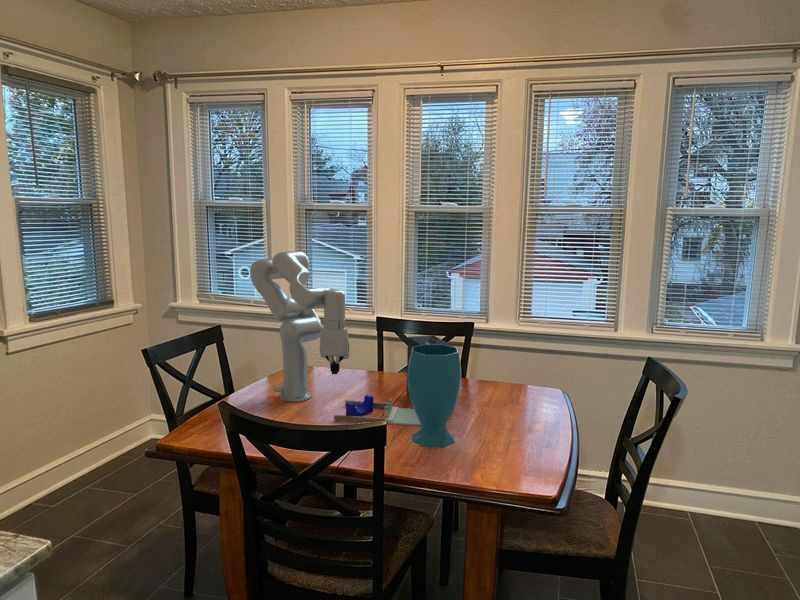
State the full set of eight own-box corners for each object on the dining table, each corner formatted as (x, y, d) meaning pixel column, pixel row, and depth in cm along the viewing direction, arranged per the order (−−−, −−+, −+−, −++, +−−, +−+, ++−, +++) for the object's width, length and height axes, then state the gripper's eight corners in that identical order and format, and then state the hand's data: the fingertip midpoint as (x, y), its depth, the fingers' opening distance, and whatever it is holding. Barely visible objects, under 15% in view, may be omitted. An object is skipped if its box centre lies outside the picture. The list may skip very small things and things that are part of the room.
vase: (407, 428, 190) (408, 343, 185) (457, 429, 189) (460, 344, 185) (406, 449, 173) (407, 355, 168) (461, 450, 172) (464, 356, 168)
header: (334, 421, 195) (334, 408, 195) (346, 405, 212) (346, 393, 211) (426, 427, 191) (426, 414, 190) (430, 410, 207) (431, 398, 206)
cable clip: (363, 409, 209) (364, 393, 208) (373, 411, 206) (373, 396, 205) (342, 418, 199) (342, 402, 198) (352, 421, 196) (352, 404, 195)
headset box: (455, 408, 210) (457, 342, 206) (425, 411, 206) (427, 344, 202) (432, 390, 231) (433, 330, 227) (405, 393, 227) (406, 331, 223)
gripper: (311, 325, 197) (312, 375, 199) (352, 326, 194) (352, 377, 197) (317, 321, 204) (318, 369, 207) (357, 322, 202) (357, 371, 204)
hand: (335, 373), depth 202 cm, fingers closed
